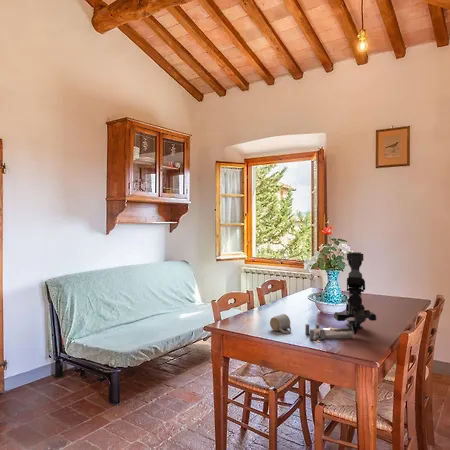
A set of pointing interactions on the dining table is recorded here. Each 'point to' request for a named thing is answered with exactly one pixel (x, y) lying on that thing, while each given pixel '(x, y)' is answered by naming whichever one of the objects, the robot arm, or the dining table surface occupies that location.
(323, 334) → the collar rig
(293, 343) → the dining table surface
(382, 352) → the dining table surface
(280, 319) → the ceramic mug
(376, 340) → the dining table surface
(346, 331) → the tube
